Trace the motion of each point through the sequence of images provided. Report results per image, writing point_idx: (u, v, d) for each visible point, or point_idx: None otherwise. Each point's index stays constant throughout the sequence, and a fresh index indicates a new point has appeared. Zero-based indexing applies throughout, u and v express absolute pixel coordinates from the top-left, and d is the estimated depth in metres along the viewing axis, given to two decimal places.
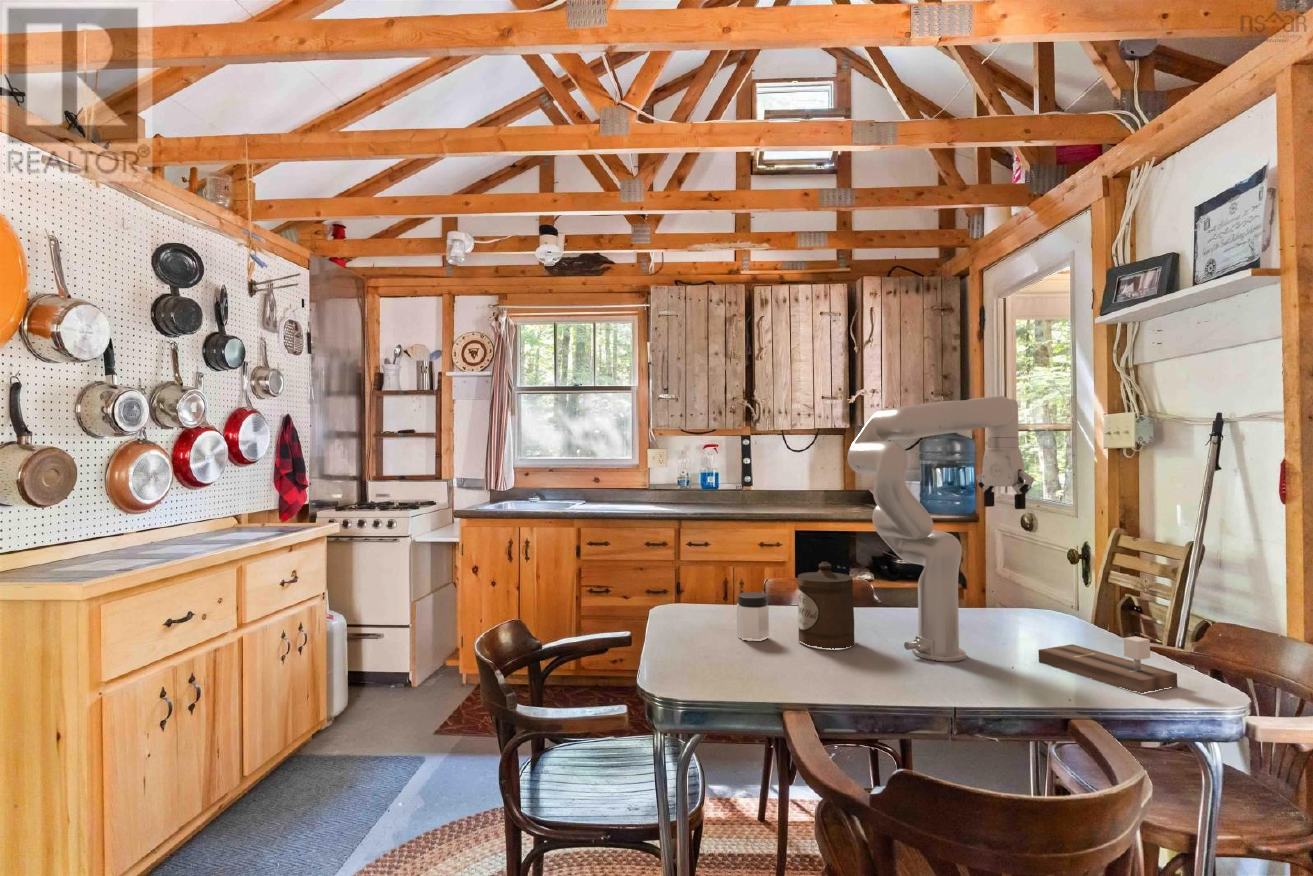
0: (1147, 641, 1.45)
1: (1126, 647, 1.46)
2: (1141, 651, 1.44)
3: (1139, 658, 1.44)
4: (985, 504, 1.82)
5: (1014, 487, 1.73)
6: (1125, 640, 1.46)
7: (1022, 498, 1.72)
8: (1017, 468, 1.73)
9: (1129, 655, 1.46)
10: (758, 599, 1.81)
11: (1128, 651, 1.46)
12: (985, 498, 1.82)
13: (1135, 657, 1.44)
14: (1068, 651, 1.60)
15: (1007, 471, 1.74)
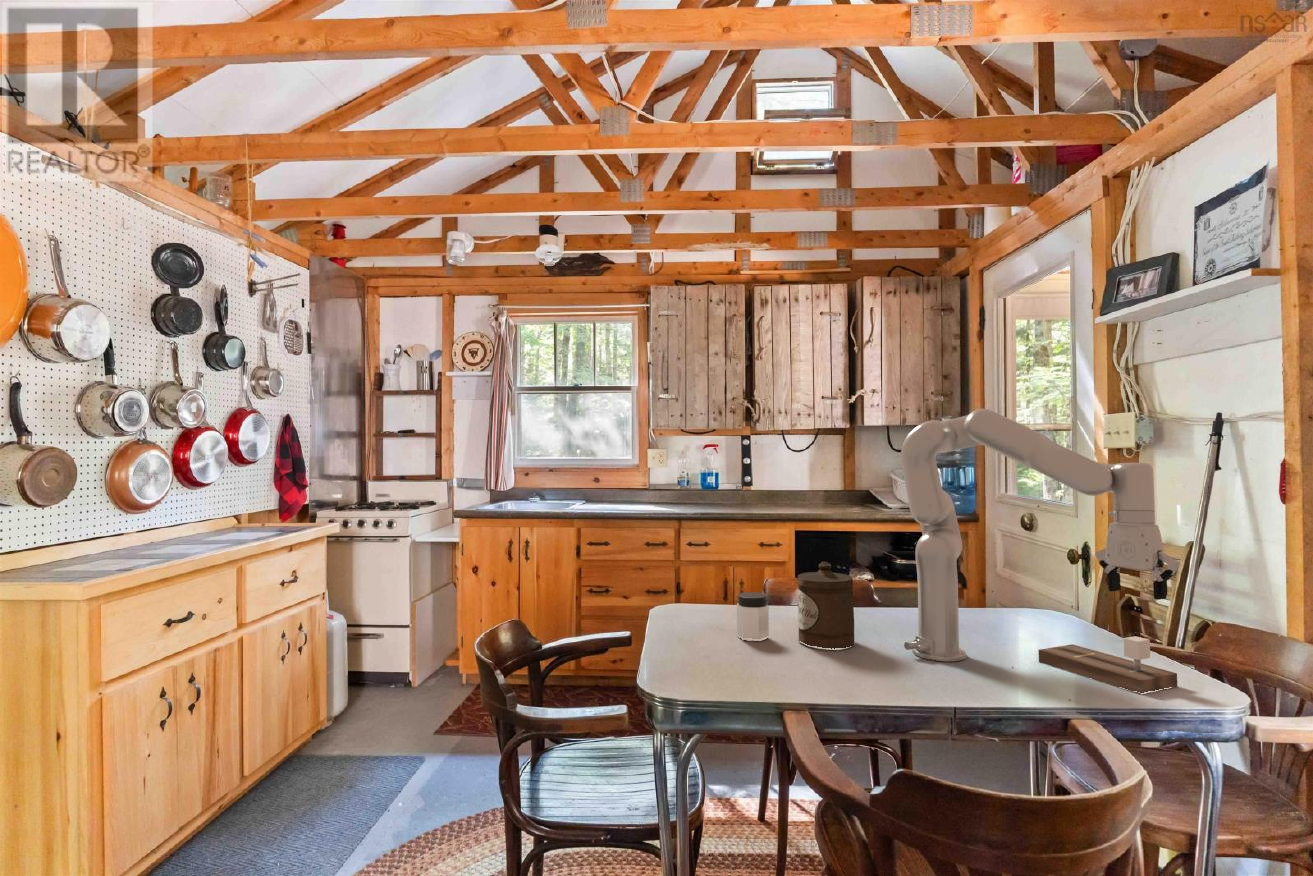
0: (1147, 641, 1.45)
1: (1126, 647, 1.46)
2: (1141, 651, 1.44)
3: (1139, 658, 1.44)
4: (1110, 589, 1.50)
5: (1152, 572, 1.42)
6: (1125, 640, 1.46)
7: (1163, 586, 1.41)
8: (1156, 549, 1.42)
9: (1129, 655, 1.46)
10: (758, 599, 1.81)
11: (1128, 651, 1.46)
12: (1109, 581, 1.50)
13: (1135, 657, 1.44)
14: (1068, 651, 1.60)
15: (1143, 552, 1.42)
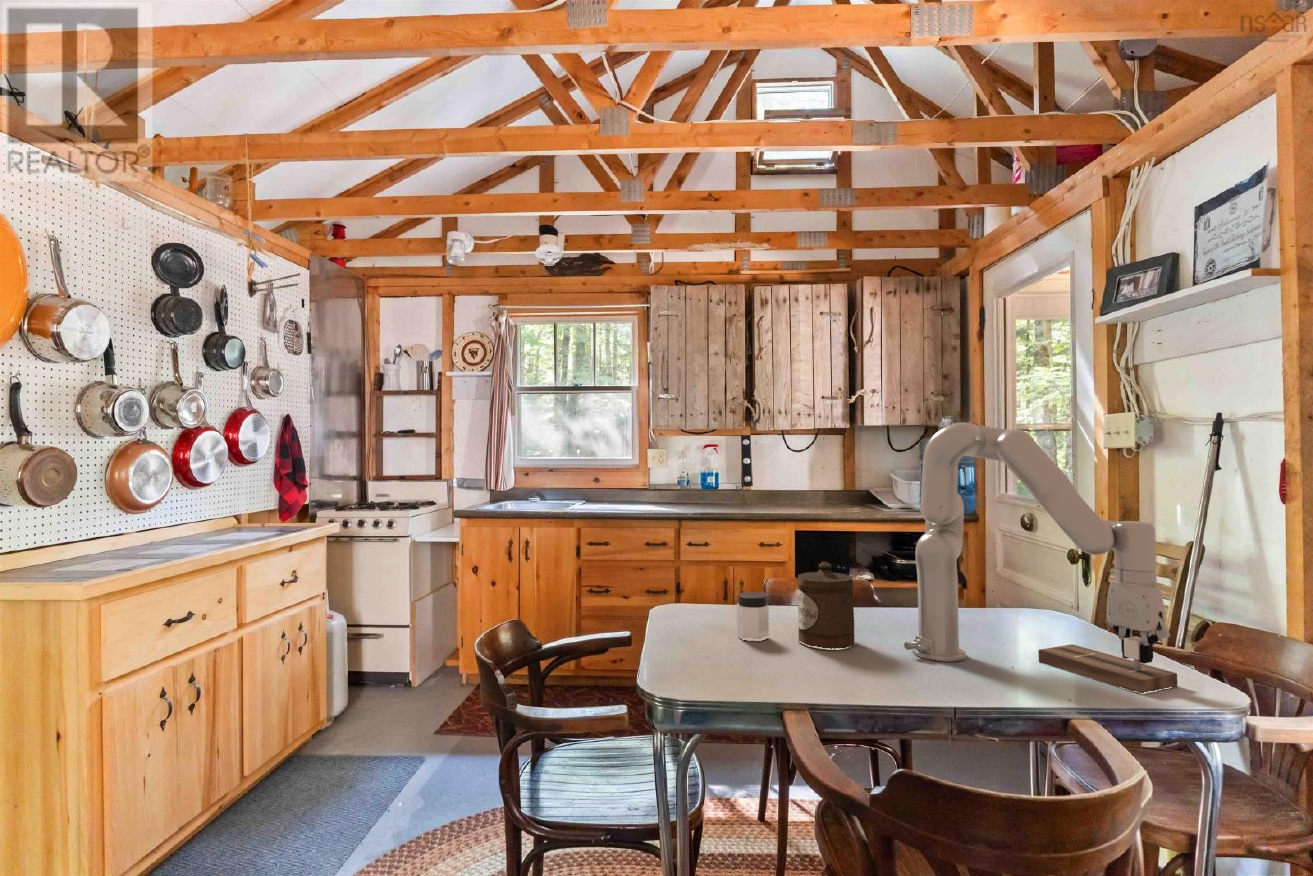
0: None
1: (1126, 647, 1.46)
2: None
3: (1139, 658, 1.44)
4: (1124, 656, 1.47)
5: (1143, 635, 1.44)
6: (1125, 640, 1.46)
7: (1149, 650, 1.43)
8: (1157, 611, 1.41)
9: (1129, 655, 1.46)
10: (758, 599, 1.81)
11: (1128, 651, 1.46)
12: None
13: (1135, 657, 1.44)
14: (1068, 651, 1.60)
15: (1144, 614, 1.42)
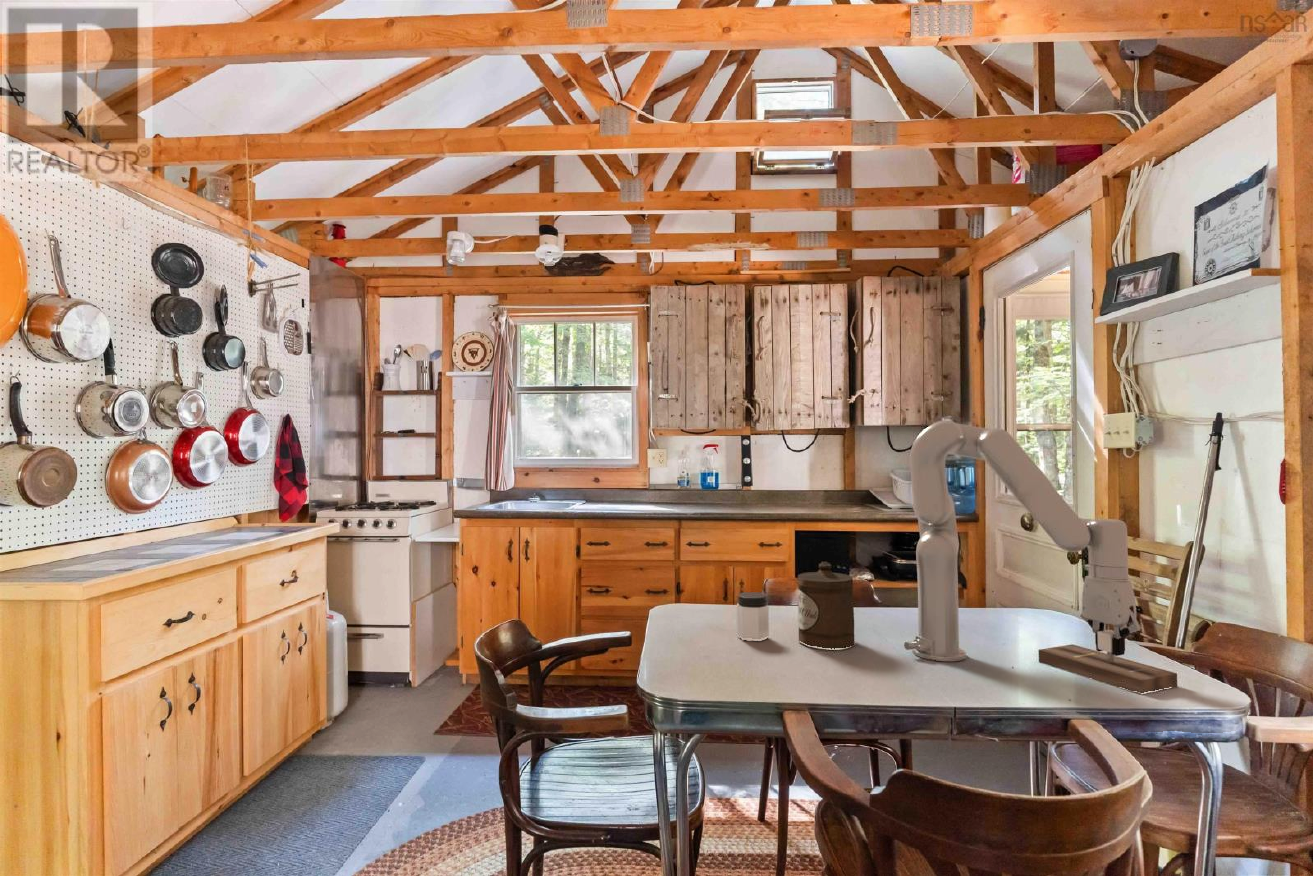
0: None
1: (1099, 640, 1.52)
2: None
3: None
4: (1098, 649, 1.53)
5: (1115, 628, 1.49)
6: (1099, 633, 1.52)
7: (1121, 643, 1.49)
8: (1128, 605, 1.47)
9: (1102, 648, 1.51)
10: (758, 599, 1.81)
11: (1101, 644, 1.51)
12: (1097, 641, 1.53)
13: (1108, 650, 1.50)
14: (1068, 651, 1.60)
15: (1116, 608, 1.48)
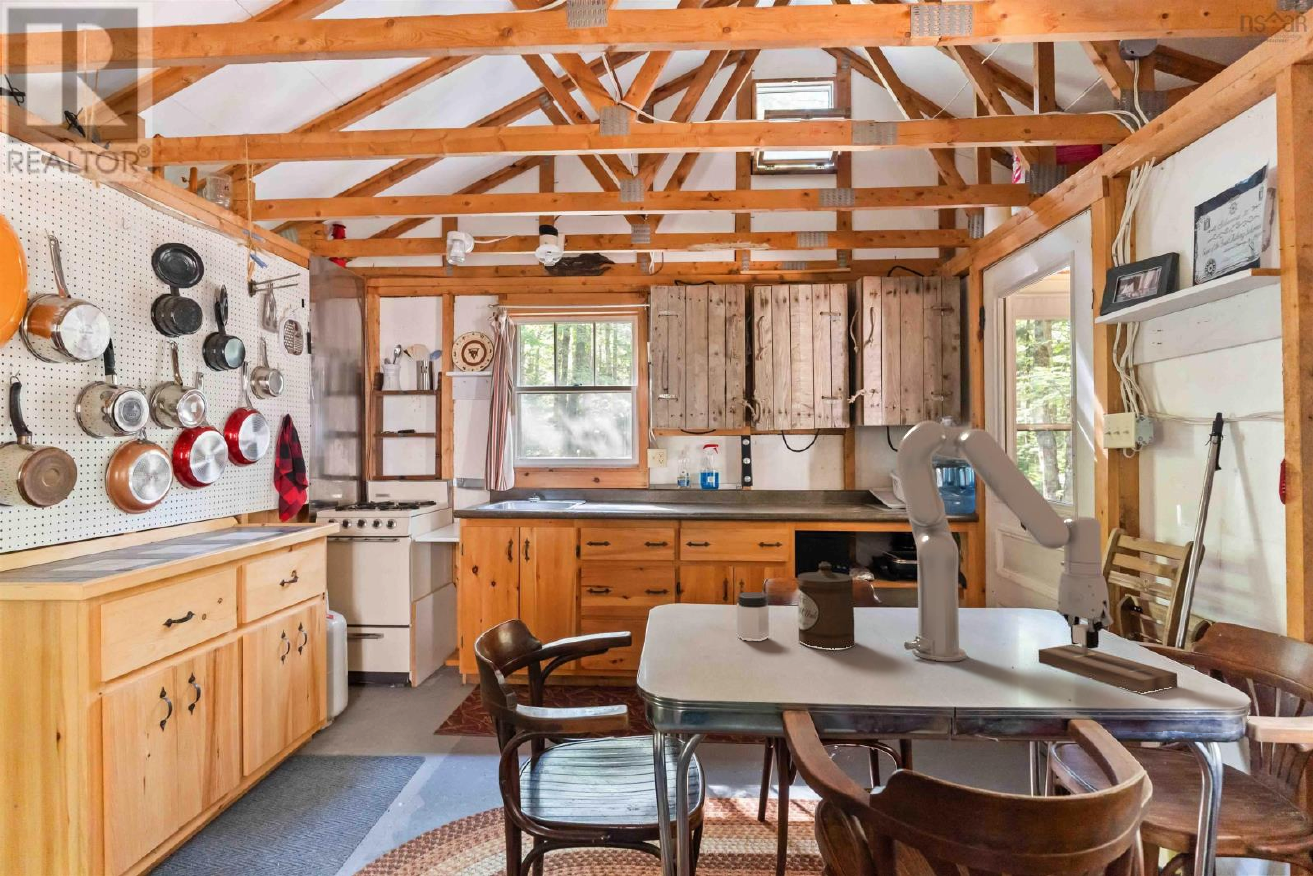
0: None
1: (1074, 634, 1.57)
2: None
3: (1086, 644, 1.55)
4: (1073, 642, 1.58)
5: (1089, 622, 1.55)
6: (1074, 627, 1.57)
7: (1095, 636, 1.54)
8: (1102, 599, 1.52)
9: (1077, 641, 1.57)
10: (758, 599, 1.81)
11: (1076, 637, 1.57)
12: (1072, 634, 1.58)
13: (1082, 643, 1.56)
14: (1068, 651, 1.60)
15: (1090, 602, 1.53)
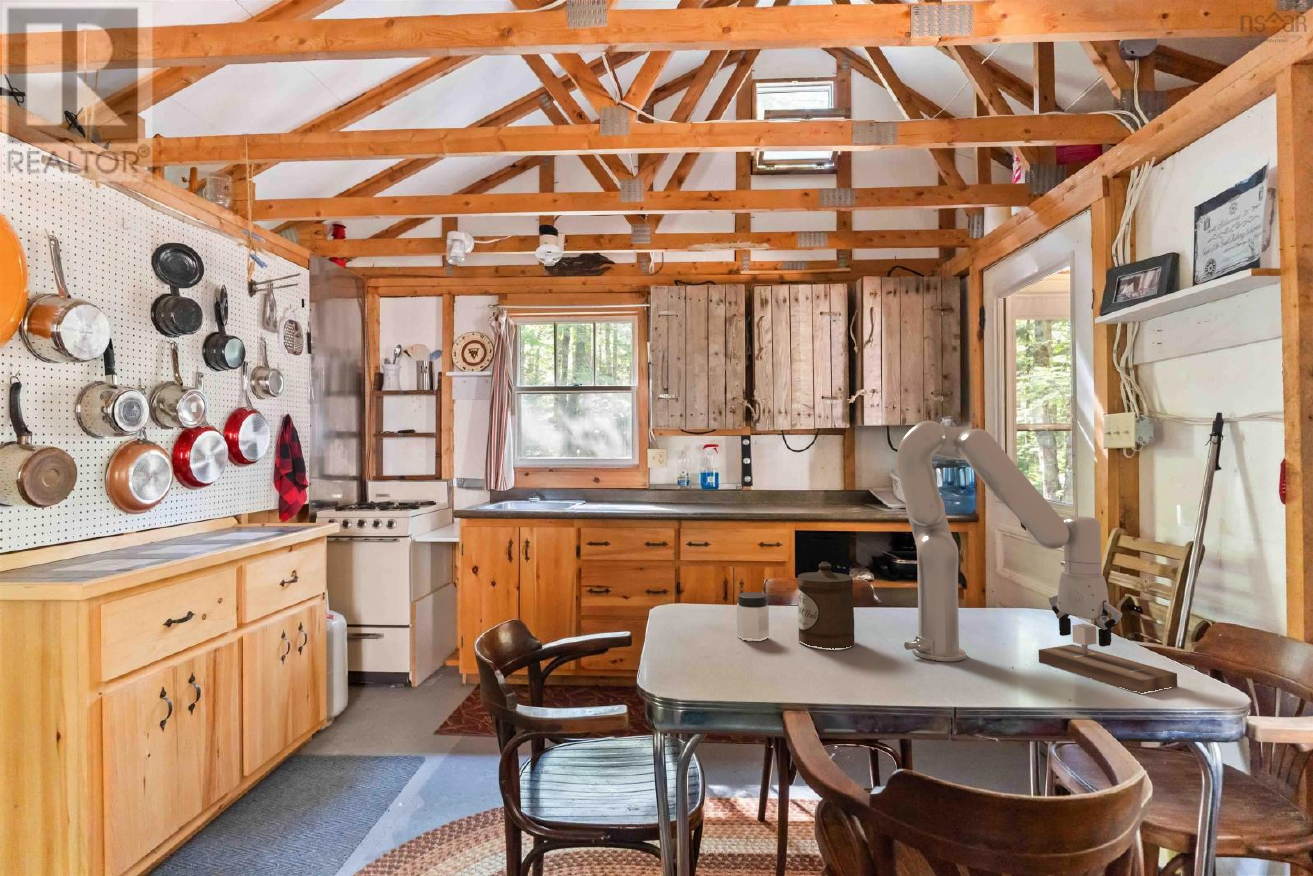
0: (1093, 628, 1.56)
1: (1074, 634, 1.57)
2: (1088, 637, 1.55)
3: (1086, 644, 1.55)
4: (1061, 633, 1.61)
5: (1098, 621, 1.53)
6: (1073, 627, 1.58)
7: (1107, 634, 1.52)
8: (1101, 599, 1.52)
9: (1077, 641, 1.57)
10: (758, 599, 1.81)
11: (1076, 637, 1.57)
12: (1060, 626, 1.61)
13: (1082, 643, 1.56)
14: (1068, 651, 1.60)
15: (1090, 602, 1.53)
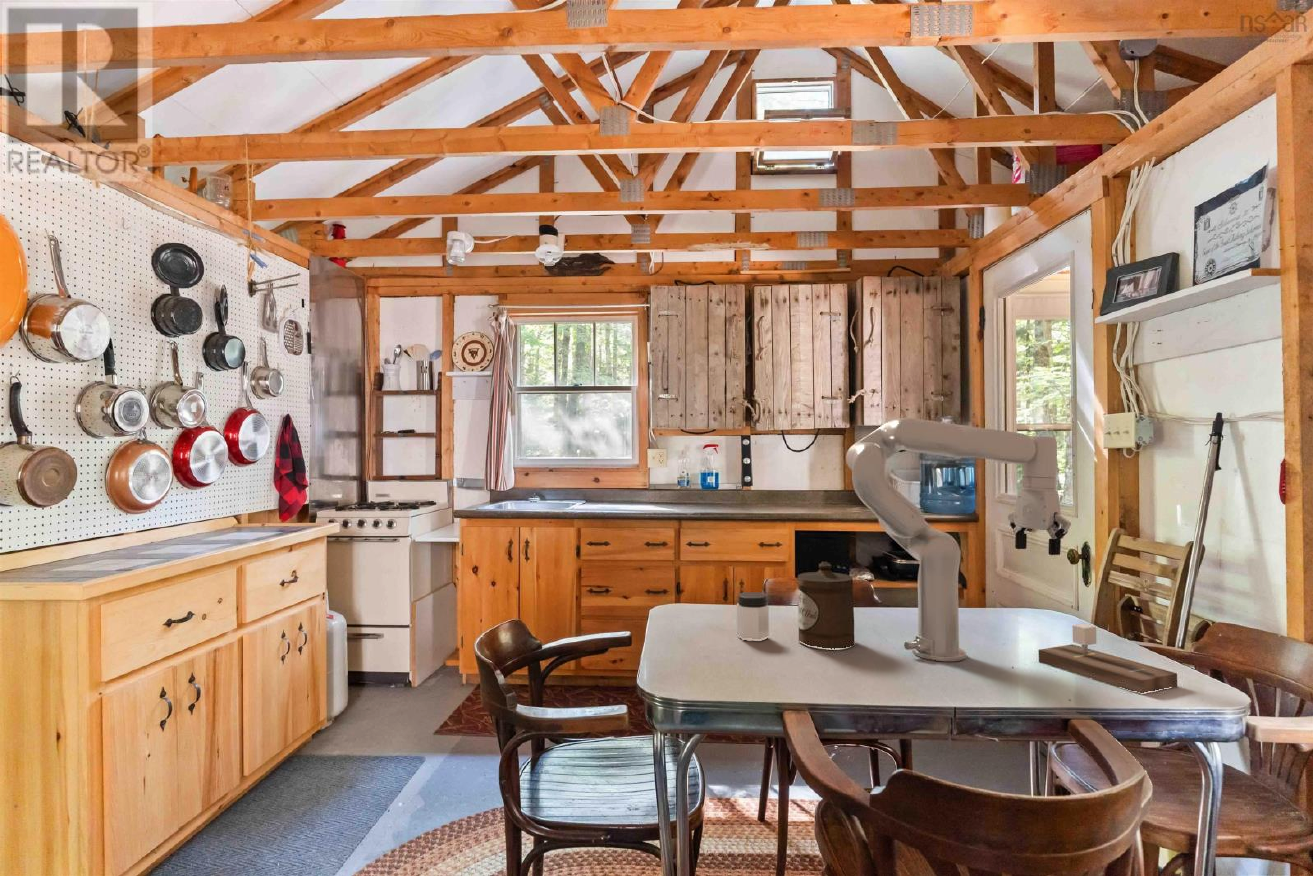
0: (1093, 628, 1.56)
1: (1074, 634, 1.57)
2: (1088, 637, 1.55)
3: (1086, 644, 1.55)
4: (1017, 547, 1.71)
5: (1049, 531, 1.62)
6: (1073, 627, 1.58)
7: (1057, 543, 1.61)
8: (1053, 511, 1.62)
9: (1077, 641, 1.57)
10: (758, 599, 1.81)
11: (1076, 637, 1.57)
12: (1016, 540, 1.71)
13: (1082, 643, 1.56)
14: (1068, 651, 1.60)
15: (1042, 513, 1.63)
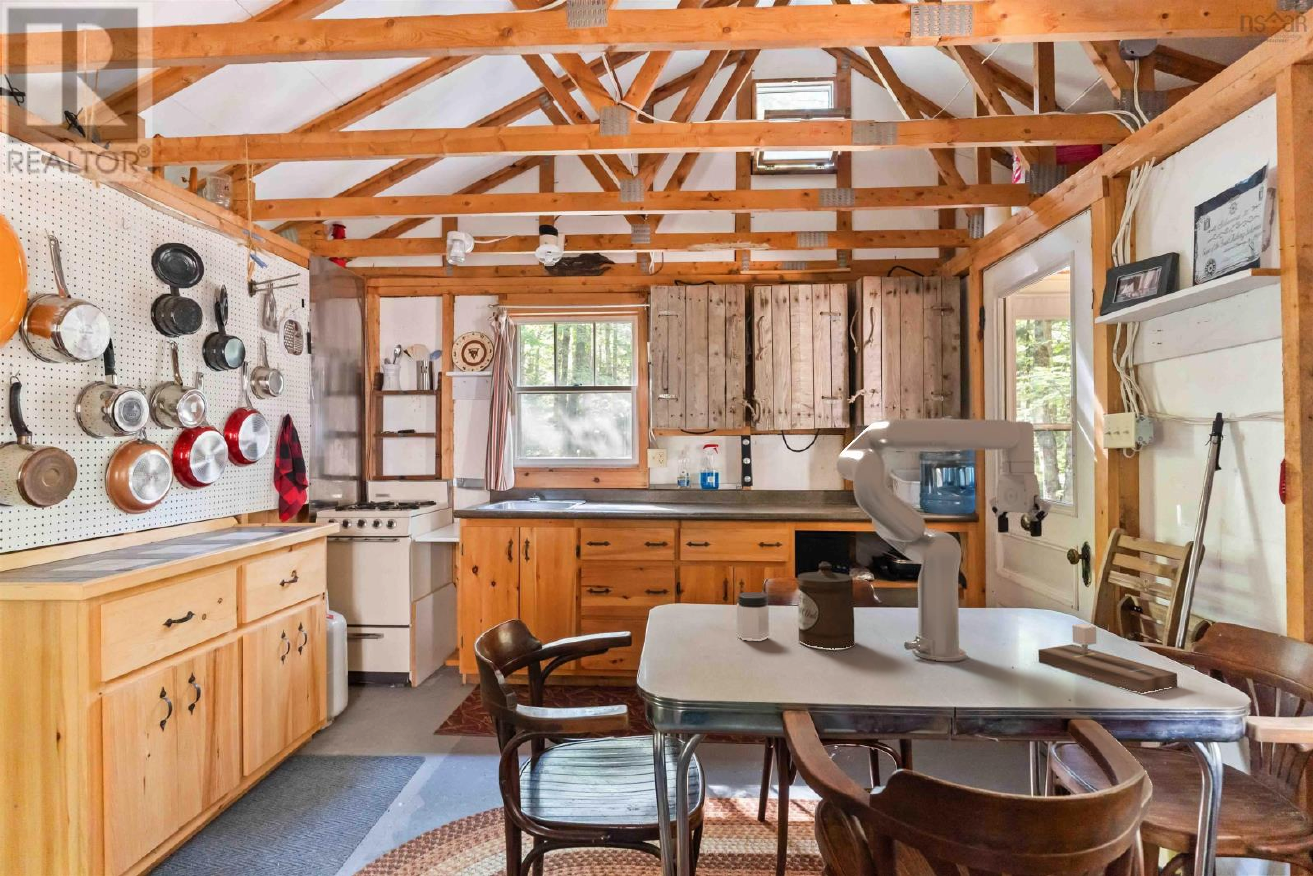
0: (1093, 628, 1.56)
1: (1074, 634, 1.57)
2: (1088, 637, 1.55)
3: (1086, 644, 1.55)
4: (999, 530, 1.75)
5: (1030, 514, 1.67)
6: (1073, 627, 1.58)
7: (1038, 525, 1.66)
8: (1033, 494, 1.67)
9: (1077, 641, 1.57)
10: (758, 599, 1.81)
11: (1076, 637, 1.57)
12: (999, 524, 1.75)
13: (1082, 643, 1.56)
14: (1068, 651, 1.60)
15: (1022, 497, 1.67)
